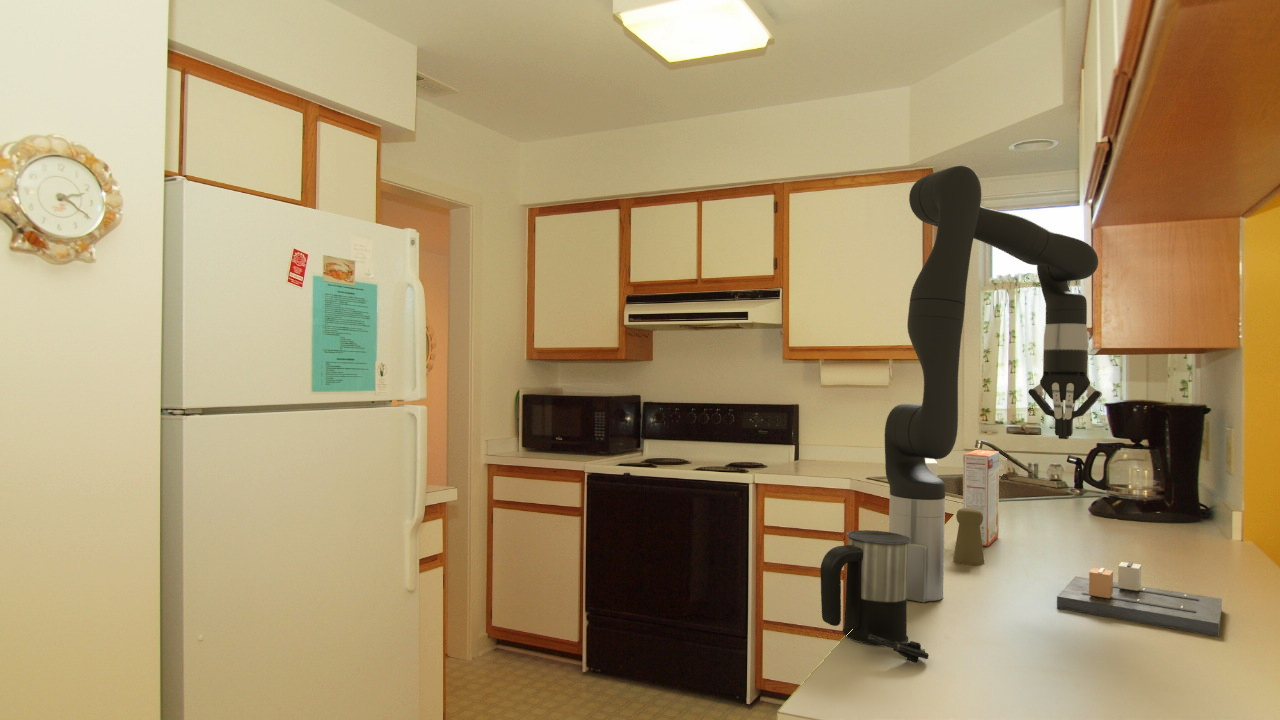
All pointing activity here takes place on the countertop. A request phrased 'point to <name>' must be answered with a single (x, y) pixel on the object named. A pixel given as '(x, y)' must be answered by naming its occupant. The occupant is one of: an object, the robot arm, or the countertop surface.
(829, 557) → the milk frother
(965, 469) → the cracker box
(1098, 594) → the fader orange
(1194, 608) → the console
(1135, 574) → the fader grey
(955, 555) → the cork
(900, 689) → the countertop surface
